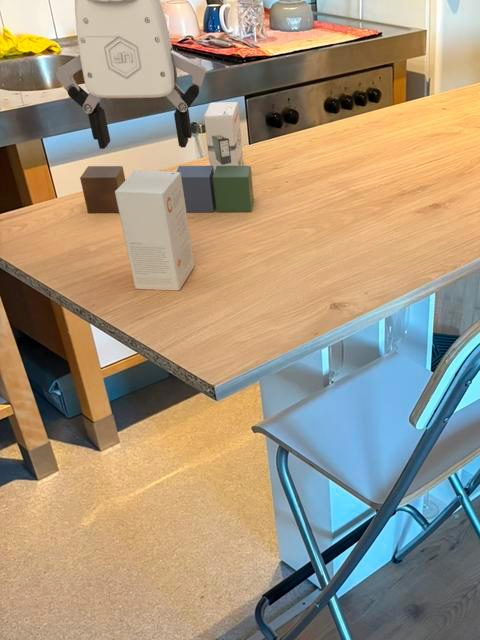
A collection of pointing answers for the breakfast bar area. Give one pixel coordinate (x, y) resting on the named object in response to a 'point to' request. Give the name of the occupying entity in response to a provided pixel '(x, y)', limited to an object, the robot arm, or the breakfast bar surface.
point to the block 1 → (102, 188)
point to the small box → (156, 229)
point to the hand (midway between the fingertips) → (144, 144)
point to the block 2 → (198, 188)
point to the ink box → (223, 134)
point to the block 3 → (233, 188)
